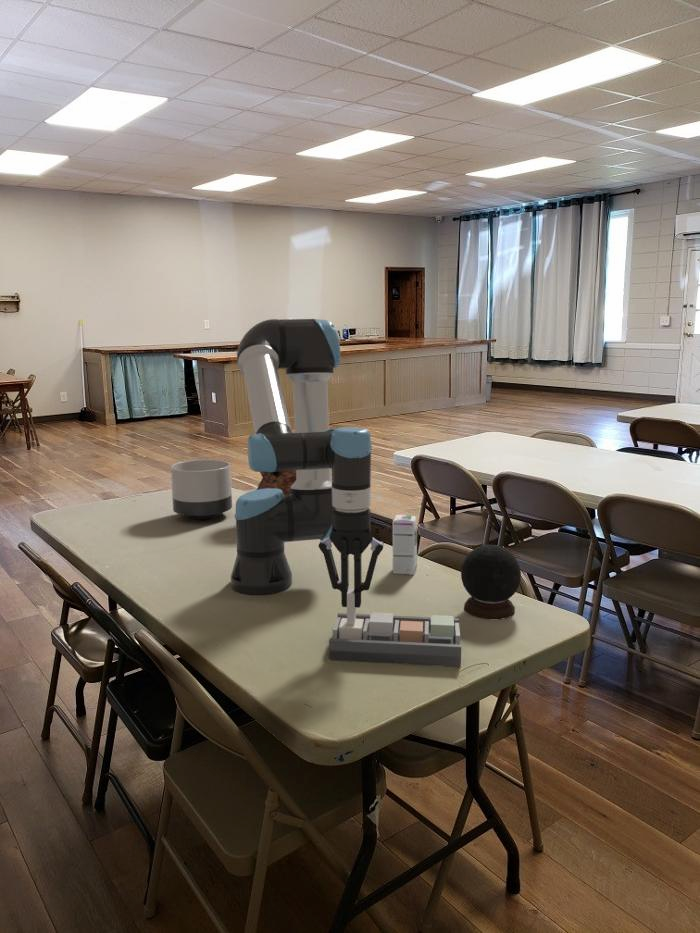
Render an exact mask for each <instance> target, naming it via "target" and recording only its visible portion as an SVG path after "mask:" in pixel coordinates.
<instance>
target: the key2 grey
mask: <svg viewBox="0 0 700 933" xmlns="http://www.w3.org/2000/svg"><path fill="white" fill-rule="evenodd" d="M370 615H371V616H370V621H369V633H376V634H392V631H393V616H394V613H392V612H370Z"/></svg>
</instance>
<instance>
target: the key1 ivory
mask: <svg viewBox="0 0 700 933" xmlns="http://www.w3.org/2000/svg"><path fill="white" fill-rule="evenodd" d="M363 629H364V619H356V620H355V624H354V625H350V624H347V618H342V619H341V622H340V626H339V639H355V640H362V636H363Z"/></svg>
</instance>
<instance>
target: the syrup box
mask: <svg viewBox="0 0 700 933" xmlns="http://www.w3.org/2000/svg"><path fill="white" fill-rule="evenodd" d="M417 568H418V516H417V515H412V514H395V516H394V518H393V520H392V573H393V574H395V575H404V574H409V575H410V576H415V573H416V571H417Z"/></svg>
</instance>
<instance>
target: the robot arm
mask: <svg viewBox="0 0 700 933" xmlns="http://www.w3.org/2000/svg"><path fill="white" fill-rule="evenodd" d="M340 346H341V345H340V340H339V336H338V333H337V329H336V327H335V325H334V324H333V323H332V322H331V321H330V320H327V319H320V318H319V319H317V318H300V319H299V318H298V319H297V318H295V319H294V318H292V319H289V318H288V319H286V318H285V319H278V318H275V319H274V318H272V319H266V320H263V321H261V322H258V323H257V324H255V325H254V326H252V327H250V329H249V330H248V331H247V332H246V333H245V334H244V335H243V337H242V339H241V340H240V343H239V345H238V347H237V352H236V361H237V367H238V370H239V372H240V373H241V374H242V376H244V380H245V381H244V382H245V388H246V392H247V398H248V403H249V409H250V414H251V420H252V425H253V431H254V434H251V435H249V436H248V439H247V457H248V458H247V459H248V461H247V462H248V466H249V468H250V470H251V471H253V472H256V473H257V472H276V471H290V470H296V478H297V479H296V481H295V482H294V483H293V484H292V486H291V494H289V495H284V493H283V491H282V490H281V489H277V488H273V489H271V488H266V489H259V490H257V489H255V490H251V491H248V492H246V493H244V494H242V495H240V496H239V497H238V498H237V500H236V502H235V514H234V519H235V525H236V526H235V528H236V529H235V531H236V532H235V533H236V538H235V539H236V557H235V560H234V564H233V567H232V570H231V574H230V587H231V589H233V590H234V591H235V592H236V591H237V592H239V593H241V594H246V595H268V594H269V595H270V594H275V593H279V592H282V591H284V590H286V589H288V588H289V587H291V586H292V584H293V573H292V570H291V568H290V565H289V561H288V559H287V556H286V553H285V543H288V542H289V543H290V542H293V543H294V542H303V541H315V540H316V541H317V540H320V541H319V544H318V549H319V550H320V551H321V553H322V554H323V557H324V561H325V564H326V568H327V573H328V577H329V580H330V583H331V587H332V589H333V590H338V591H340V592H341V607H342V608H346V614H347V624H350V625H354V624H355V620H356V614H357V608H361V605H362V592H363V591H368V590H370V587H371V583H372V579H373V576H374V573H375V569H376V568H375V567H376V563H377V560H378V557H379V555H380V554H381V552H382V551H383V550H384V545H385V543H384V541H382V540H380V541H379V540H377V539H376V538H375V537H374V533H373V532H372V529H371V522H372V521H371V509H370V507H371V501H372V499H371V498H372V497H371V496H372V495H371V494H372V493H371V492H372V490H371V489H372V488H371V487H372V486H371V480H372V478H371V475H372V470H371V469H372V468H371V466H372V461H371V460H372V459H371V458H372V449H373V447H372V441H371V440H372V439H371V438H372V437H371V432H370V431H369V429H367V428H365V427H360V426H343V427H342V426H341V427H336V428H330V414H329V413H330V412H329V407H330V406H329V387H328V386H329V385H328V384H329V383H328V382H329V380H330V379H332V377H333V376H334V369H336V368H338V367H339V366H340V364H341V347H340ZM278 369H285V376H286V378H288V379H289V380H290V382H292V393H293V394H292V397H293V399H292V400H293V418H294V419H293V421H294V422H293V423H294V432H292V427H291V422H290V419H289V418H290V417H289V414H288V410H287V406H286V400H285V397H284V394H283V393H284V392H283V388H282V384H281V380H280V376H279V373H278ZM333 545H334V547H335V548H336V549H337V551H338V553H340V577H339V573H338V570H337V566H336V562H335V558H334V555H333V554H334V553H333V551H332V547H333ZM369 545H371V546H370V550H371V551H372V552H371V557H370V560H369V564H368V568H367V571H366V575H365V580H364V581H363V582H362V554H363V553H364V552H365V551H366V550H367V548H368V547H369ZM349 555H351V556H353V573H354V574H353V583H354V584H353V585H354V586H353V588H349V585H350V584H349V583H350V582H349V580H350V579H349V572H350V571H349V570H350V569H349V568H350V567H349V560H350V559H349V558H350V557H349Z"/></svg>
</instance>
